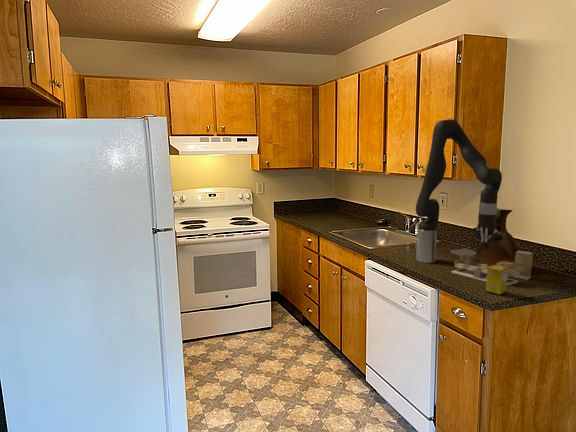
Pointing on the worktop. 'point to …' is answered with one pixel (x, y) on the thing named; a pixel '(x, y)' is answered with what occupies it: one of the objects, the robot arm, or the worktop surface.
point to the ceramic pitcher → (499, 244)
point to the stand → (478, 275)
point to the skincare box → (523, 265)
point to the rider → (466, 259)
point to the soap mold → (464, 250)
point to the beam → (484, 267)
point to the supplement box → (496, 280)
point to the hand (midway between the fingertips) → (485, 249)
